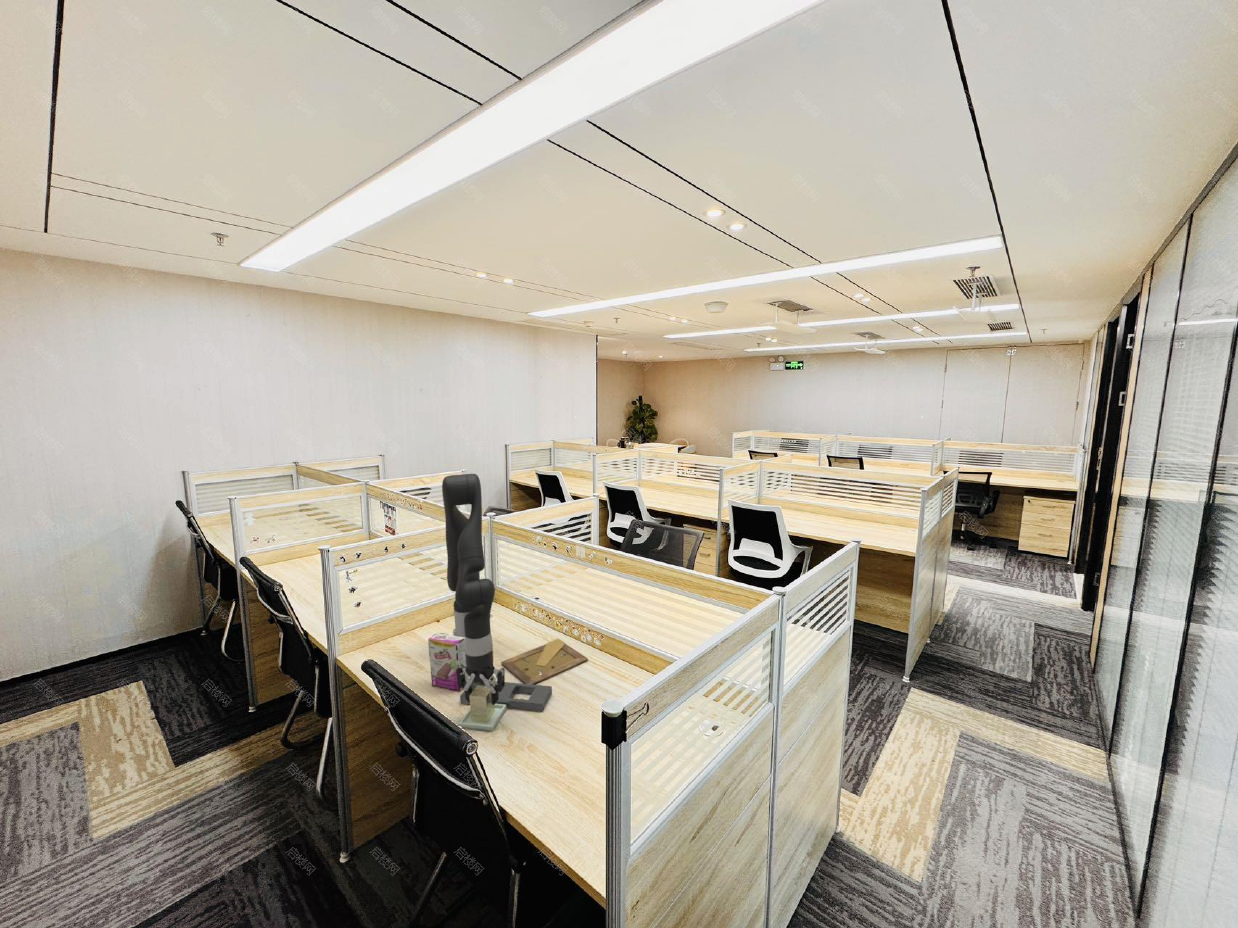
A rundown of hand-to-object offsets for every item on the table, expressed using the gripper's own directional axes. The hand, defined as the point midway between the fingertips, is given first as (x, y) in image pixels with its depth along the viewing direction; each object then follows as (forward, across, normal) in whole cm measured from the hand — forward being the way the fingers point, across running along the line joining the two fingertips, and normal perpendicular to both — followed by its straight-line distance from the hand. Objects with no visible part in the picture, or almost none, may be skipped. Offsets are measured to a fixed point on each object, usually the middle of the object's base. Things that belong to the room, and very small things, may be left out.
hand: (482, 701), depth 146 cm
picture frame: (+6, +8, +31) cm, 33 cm away
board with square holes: (+5, +3, +10) cm, 12 cm away
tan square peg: (+5, 0, 0) cm, 5 cm away
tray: (+5, 0, 0) cm, 5 cm away
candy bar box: (+5, -18, +14) cm, 23 cm away
